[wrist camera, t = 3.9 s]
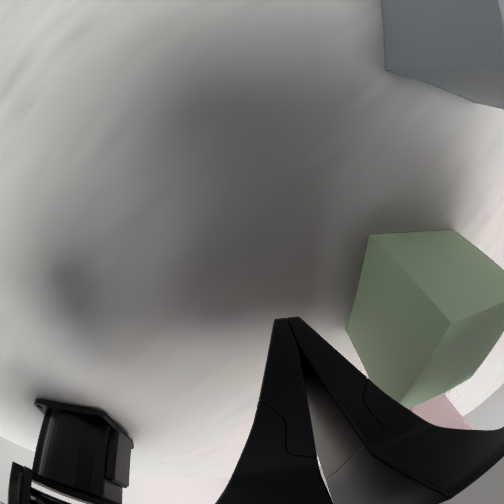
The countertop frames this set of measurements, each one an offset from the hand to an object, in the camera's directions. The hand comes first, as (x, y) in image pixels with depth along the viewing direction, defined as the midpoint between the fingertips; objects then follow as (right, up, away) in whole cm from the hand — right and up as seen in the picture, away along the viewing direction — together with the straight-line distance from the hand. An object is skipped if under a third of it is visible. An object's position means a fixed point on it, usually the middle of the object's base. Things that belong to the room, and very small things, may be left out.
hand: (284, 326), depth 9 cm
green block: (+6, +1, +2) cm, 6 cm away
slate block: (+6, +11, -3) cm, 13 cm away
